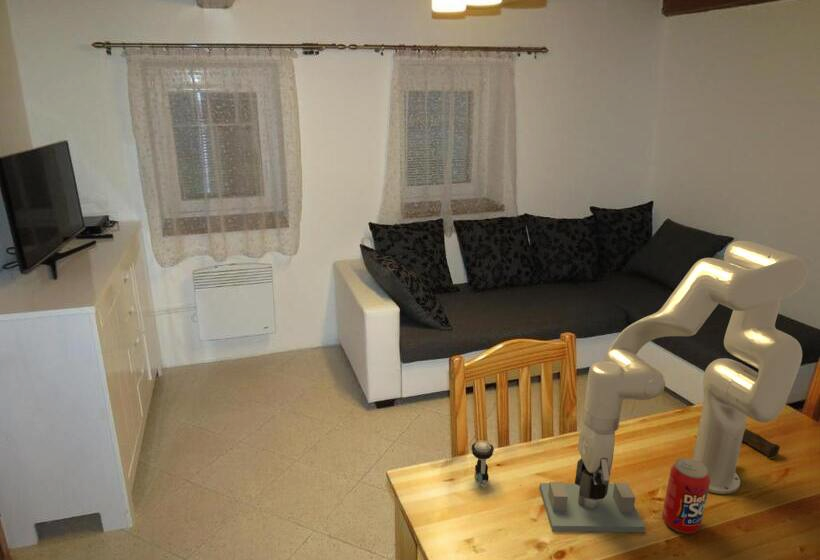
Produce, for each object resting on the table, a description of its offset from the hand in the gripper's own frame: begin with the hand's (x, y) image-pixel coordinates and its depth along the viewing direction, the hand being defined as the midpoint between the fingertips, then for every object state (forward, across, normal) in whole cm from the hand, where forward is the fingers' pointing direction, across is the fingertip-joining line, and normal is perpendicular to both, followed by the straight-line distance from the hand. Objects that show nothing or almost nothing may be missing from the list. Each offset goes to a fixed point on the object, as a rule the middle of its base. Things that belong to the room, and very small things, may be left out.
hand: (591, 485), depth 132 cm
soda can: (+7, +4, +19) cm, 21 cm away
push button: (+7, -10, -23) cm, 26 cm away
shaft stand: (+7, 0, 0) cm, 7 cm away
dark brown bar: (+7, -28, +49) cm, 57 cm away
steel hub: (+1, 0, 0) cm, 1 cm away
